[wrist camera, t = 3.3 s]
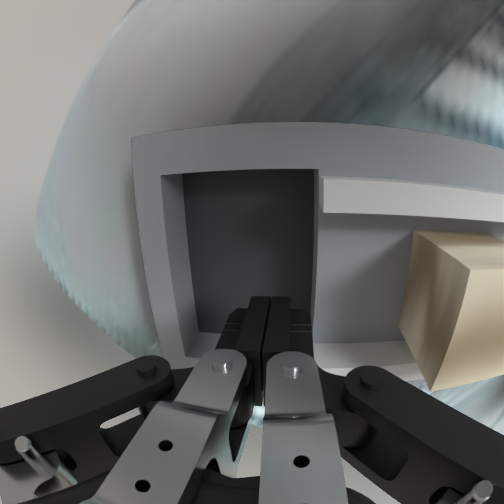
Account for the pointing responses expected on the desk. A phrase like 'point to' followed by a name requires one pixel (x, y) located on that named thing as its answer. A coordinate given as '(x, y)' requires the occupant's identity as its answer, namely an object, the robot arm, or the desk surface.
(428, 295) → the block
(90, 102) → the desk surface
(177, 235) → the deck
